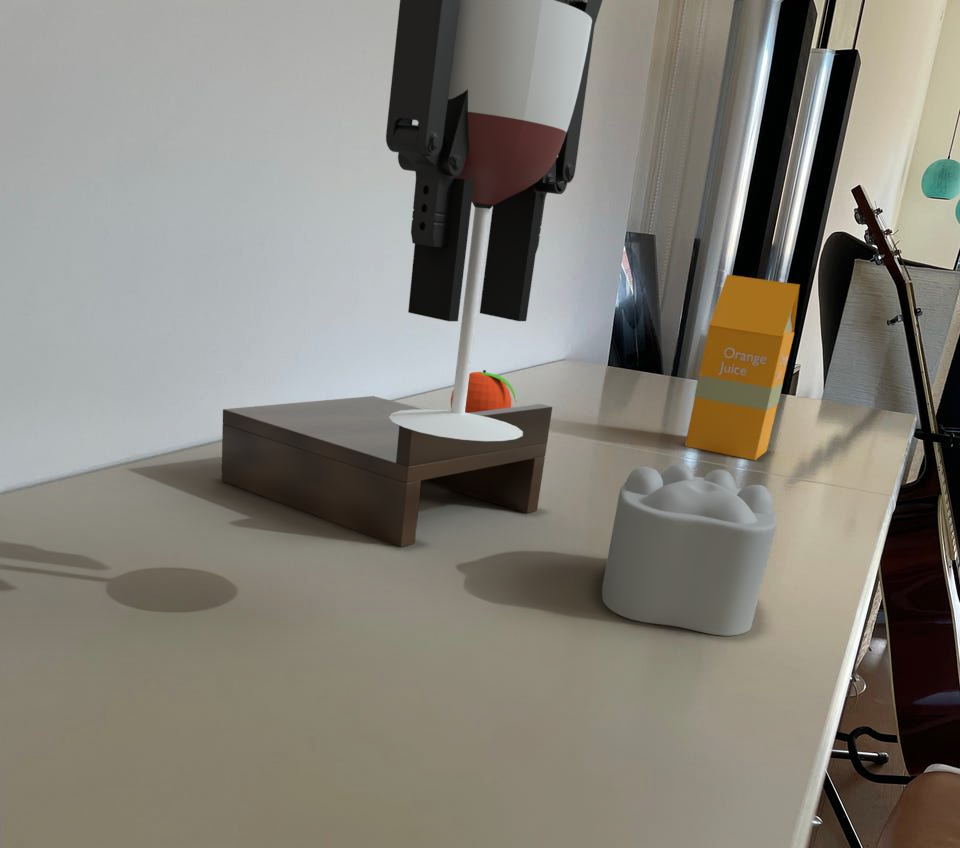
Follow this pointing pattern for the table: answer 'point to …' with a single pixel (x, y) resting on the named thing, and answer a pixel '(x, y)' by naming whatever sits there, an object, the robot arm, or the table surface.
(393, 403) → the shelf
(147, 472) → the table surface
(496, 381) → the clementine
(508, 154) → the wineglass
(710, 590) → the lumpy-topped squat cylinder
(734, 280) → the orange juice
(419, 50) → the robot arm
